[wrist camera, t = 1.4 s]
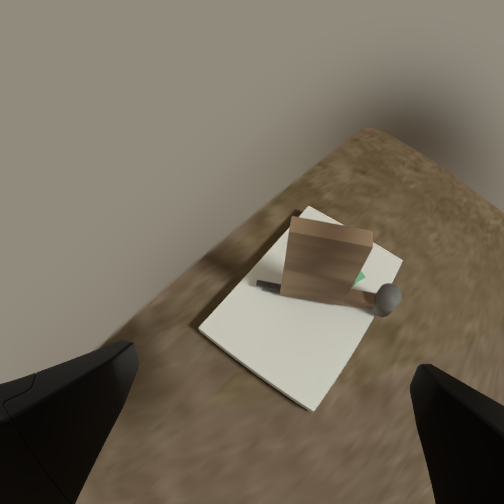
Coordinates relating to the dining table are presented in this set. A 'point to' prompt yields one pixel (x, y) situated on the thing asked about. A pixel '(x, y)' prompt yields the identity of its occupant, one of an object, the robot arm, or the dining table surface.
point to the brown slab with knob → (330, 267)
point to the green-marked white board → (295, 324)
